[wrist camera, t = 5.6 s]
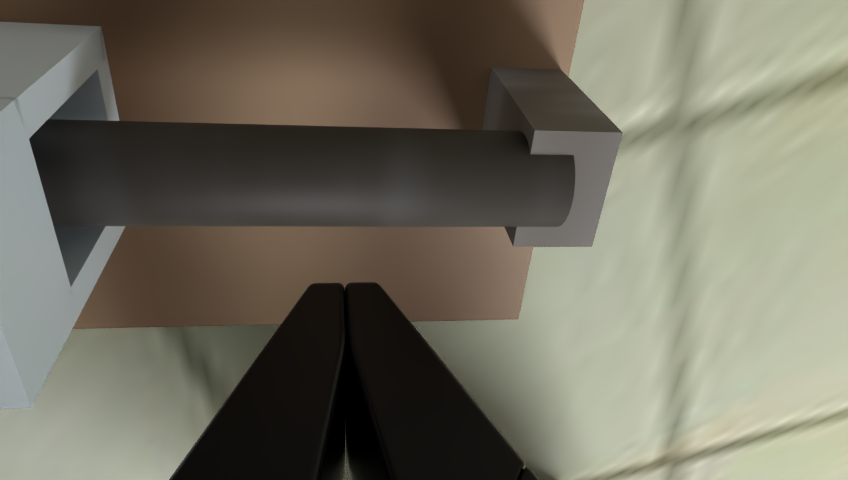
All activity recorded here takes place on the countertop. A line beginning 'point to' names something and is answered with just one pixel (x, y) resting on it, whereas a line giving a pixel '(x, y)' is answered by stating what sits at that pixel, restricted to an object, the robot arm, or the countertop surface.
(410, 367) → the robot arm
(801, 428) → the countertop surface
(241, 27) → the dumbbell on board
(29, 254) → the white sleeve
